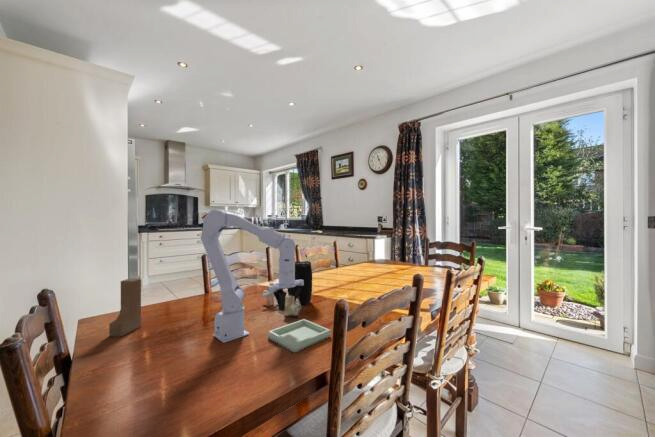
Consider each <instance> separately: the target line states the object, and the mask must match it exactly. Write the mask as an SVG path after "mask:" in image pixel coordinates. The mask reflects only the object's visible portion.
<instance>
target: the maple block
mask: <svg viewBox="0 0 655 437" xmlns="http://www.w3.org/2000/svg"><path fill="white" fill-rule="evenodd" d="M292 313H294V296H292V295H289V294H288V293H287V294H286V297H285V308H284V311H281V310H279V309H278V314H281V315H283V316H284V317H285V316H286V315H287V316H290V315H289V314H292ZM287 316H286V317H287Z"/></svg>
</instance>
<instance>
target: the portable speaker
mask: <svg viewBox="0 0 655 437" xmlns="http://www.w3.org/2000/svg"><path fill="white" fill-rule="evenodd" d="M311 262H312V261H308V260H305V261H296V260H295V280H299V279H301V280H304V285H302V286H301V285H300V286H298V287H300V288H301V291H300V292H299V294H298V296H297V298H298V297H299V298H298V299H299V301H300V304H304V305H305V304H308V305H310V304H311V299H312V293H313V270H312V263H311ZM309 303H310V304H309Z"/></svg>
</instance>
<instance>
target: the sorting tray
mask: <svg viewBox="0 0 655 437" xmlns="http://www.w3.org/2000/svg"><path fill="white" fill-rule="evenodd" d="M331 331H332V330H331V329H330V328H327V327H325V326H322V325H319V324H318V323H316V322H312V321H310V320H307V319H305V318H303V319H299V320H298V321H294V322H291V323H288V324H285V325H282V326H278V327H277V328H274V329H272V330H269V331H268V334H267V335H268V340H269V341H271V342H273V341H274V343H275V342H276V344H277V343H278V344H277V345H279V346H280V345H281V347H282V346H283V348H284V347H285V348H284V349H286V348H287V349H286V350H288V349H289V350H290V351H289V350H288V351H289V352H291V351H292V352H291V353H293V352H294V353H293V354H296V353H298V352H301V351H303V350H304V348H305V349H307V348H309V346H310V347H311V345H312V346H313V344H314V345H316V344H318V343H317V342H319V341H321V342H322V340H323V339H325V338H327V337H329V336H330V338H331V337H332V336H331V335H332V334H331ZM327 339H328V338H327ZM325 340H326V339H325ZM323 341H324V340H323ZM315 343H316V344H315ZM319 343H320V342H319ZM306 347H307V348H306ZM302 349H303V350H302ZM300 350H301V351H300ZM297 351H298V352H297ZM295 352H296V353H295Z"/></svg>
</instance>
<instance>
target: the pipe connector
mask: <svg viewBox="0 0 655 437" xmlns="http://www.w3.org/2000/svg"><path fill="white" fill-rule="evenodd" d="M274 284H275V283H273V282H270V283H269V286H271V285H274ZM261 298H262V299H266V298H269V305H270V306H273V305H274V299H275V296H274V294H273V293H270V292H268V289H263V291H262V294H261Z"/></svg>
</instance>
